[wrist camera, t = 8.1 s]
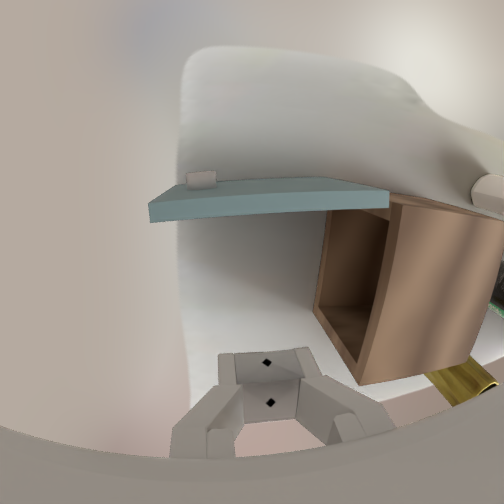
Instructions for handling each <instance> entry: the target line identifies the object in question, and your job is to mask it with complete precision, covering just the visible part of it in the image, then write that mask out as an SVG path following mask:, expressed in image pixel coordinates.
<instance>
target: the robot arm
mask: <svg viewBox="0 0 504 504" xmlns="http://www.w3.org/2000/svg"><path fill="white" fill-rule="evenodd" d="M218 380H219V385H216V386H213V387H212V388H211V389H210V391H209V392H208V393H207V394H206V395H205V396H204V397H203V398H202V399H201V400H200V401H199V402H198V403H197V404H196V405H195V406H194V407H193V408H192V409H191V410H190V411H189V412H188V413H187V414H186V415H185V416H184V417H183V418H182V419H181V420H180V421H179V422H178V423H177V424H176V425H175V426H174V427H173V429H172V438H171V446H170V456H169V458H161V457H147V456H135V455H126V454H118V453H110V452H103V451H97V450H91V449H85V448H80V447H74V446H70V445H66V444H61V443H57V442H53V441H49V440H45V439H41V438H37V437H34V436H30V435H26V434H24V433H20V432H17V431H14V430H11V429H8V428H5V427H2V426H0V504H504V382H503V383H501V384H499V385H497V386H496V387H494V388H492V389H490V390H488V391H486V392H484V393H482V394H480V395H478V396H476V397H474V398H472V399H469V400H467V401H465V402H463V403H461V404H458V405H456V406H454V407H452V408H449V409H447V410H445V411H442V412H439V413H437V414H435V415H432V416H429V417H427V418H424V419H421V420H419V421H416V422H413V423H410V424H407V425H404V426H401V427H398V428H396V426H395V425H394V423H393V421H392V420H391V418H390V417H389V415H388V413H387V411H386V410H385V408H384V407H383V405H382V404H381V403H379V402H377V401H375V400H373V399H371V398H369V397H367V396H365V395H363V394H361V393H359V392H357V391H355V390H353V389H351V388H349V387H347V386H346V385H344V384H342V383H340V382H338V381H336V380H334V379H332V378H331V377H329V376H327V375H324V376H322V374H321V372H320V370H319V368H318V366H317V364H316V362H315V359H314V357H313V355H312V353H311V351H310V349H309V348H308V347H302V348H295V349H290V350H280V351H269V352H248V353H234V354H233V353H224V354H218ZM288 419H296V420H297V421H298V422H299V423H300V424H301V425H302V426H304V427H305V428H306V429H307V430H308V431H310V432H311V433H312V434H313V435H314V436H315V437H317V438H318V439H319V440H320V441H321V442H323V443H324V444H325V445H326V446H324V447H318V448H312V449H307V450H300V451H294V452H287V453H279V454H271V455H261V456H249V457H235V447H234V441H235V439H236V438H237V436H238V434H239V433H240V431H241V430H242V428H243V426H244V424H249V423H259V422H267V421H278V420H288Z"/></svg>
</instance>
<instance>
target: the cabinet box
mask: <svg viewBox="0 0 504 504" xmlns="http://www.w3.org/2000/svg"><path fill="white" fill-rule="evenodd" d="M503 251H504V221H501V220H498V219H495V218H492V217H489V216H486V215H483V214H479V213H476V212H473V211H470V210H466V209H463V208H459V207H456V206H452V205H449V204H445V203H442V202H438V201H434V200H430V199H426V198H420V197H414V196H408V195H402V194H396V193H389V208H369V209H342V210H327V217H326V225H325V233H324V241H323V249H322V256H321V263H320V270H319V276H318V283H317V289H316V295H315V302H314V307H313V313H314V315H315V316H316V318H317V319H318V321H319V323H320V324H321V326H322V327H323V329H324V330H325V332H326V334H327V335H328V337H329V338H330V340H331V342H332V343H333V345H334V346H335V348H336V350H337V351H338V353H339V355H340V356H341V358H342V359H343V361H344V363H345V364H346V366H347V367H348V369H349V371H350V372H351V374H352V376H353V377H354V379H355V380H356V382H357V384H358V385H359V386H363V385H369V384H375V383H381V382H386V381H391V380H396V379H401V378H406V377H411V376H415V375H420V374H424V373H428V372H432V371H436V370H440V369H444V368H448V367H451V366H455V365H459V364H462V363H465V362H466V361H467V359H468V357H469V355H470V352H471V350H472V348H473V345H474V343H475V340H476V338H477V335H478V333H479V330H480V328H481V325H482V322H483V319H484V317H485V314H486V311H487V308H488V305H489V302H490V299H491V295H492V292H493V289H494V286H495V282H496V278H497V275H498V271H499V267H500V263H501V259H502V255H503Z"/></svg>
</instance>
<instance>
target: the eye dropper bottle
mask: <svg viewBox="0 0 504 504" xmlns="http://www.w3.org/2000/svg"><path fill="white" fill-rule="evenodd" d="M471 197H472V201H473V204H474V206H475V207H478V208H481V209H485V210H488V211H491V212H495V213H498V214H501V215H504V176H498V175H492V174H488V175H484V176H482V177H481V178H479V179H478V180H477V182H476V183H475V184H474V186H473V187H472V189H471Z"/></svg>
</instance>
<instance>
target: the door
mask: <svg viewBox="0 0 504 504" xmlns="http://www.w3.org/2000/svg"><path fill="white" fill-rule="evenodd" d="M186 181H187V184H182V185H175V186H174V187H172V188H171V189H169V190H167V191H166V192H164V193H163V194H161V195H160V196H158V197H157V198H155V199H154V200H152V201H151V202H149V203H148V207H149V216H150V223H154V222H165V221H176V220H187V219H198V218H211V217H223V216H237V215H251V214H266V213H282V212H300V211H319V210H342V209H369V208H389V190H385V189H380V188H376V187H371V186H367V185H362V184H357V183H353V182H348V181H343V180H337V179H332V178H327V177H294V178H268V179H248V180H232V181H218V182H217V181H216V171H203V172H192V173H186Z"/></svg>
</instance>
